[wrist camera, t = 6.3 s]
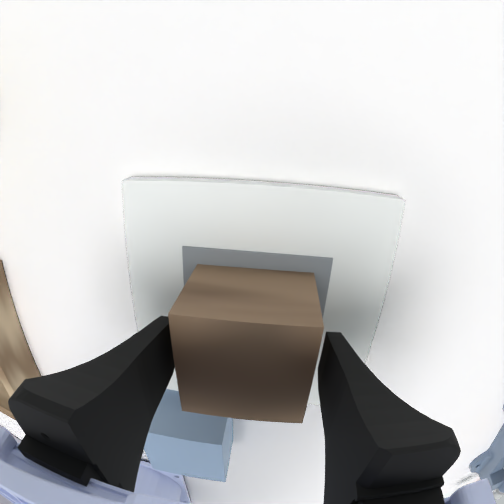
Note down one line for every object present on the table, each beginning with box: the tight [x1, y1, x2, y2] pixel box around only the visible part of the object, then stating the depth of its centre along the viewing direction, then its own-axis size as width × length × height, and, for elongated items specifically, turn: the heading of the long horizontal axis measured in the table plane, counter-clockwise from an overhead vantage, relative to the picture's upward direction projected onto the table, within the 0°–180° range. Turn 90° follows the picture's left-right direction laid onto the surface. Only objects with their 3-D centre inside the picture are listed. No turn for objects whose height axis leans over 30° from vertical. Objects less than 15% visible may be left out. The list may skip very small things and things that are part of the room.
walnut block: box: [168, 264, 324, 423], centre depth 13 cm, size 5×5×4 cm
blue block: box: [144, 389, 233, 482], centre depth 17 cm, size 5×5×4 cm
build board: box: [122, 177, 405, 405], centre depth 15 cm, size 12×12×1 cm
